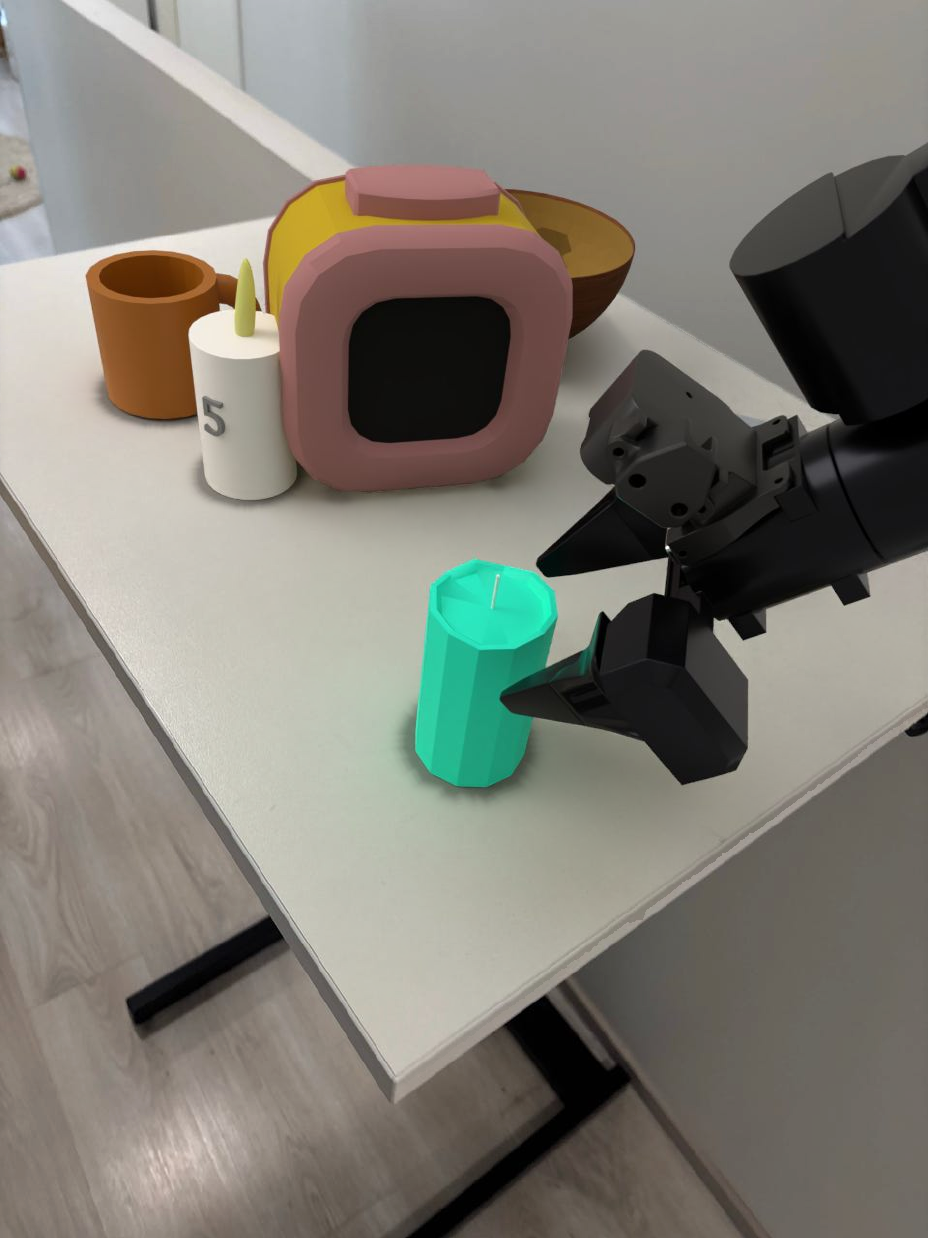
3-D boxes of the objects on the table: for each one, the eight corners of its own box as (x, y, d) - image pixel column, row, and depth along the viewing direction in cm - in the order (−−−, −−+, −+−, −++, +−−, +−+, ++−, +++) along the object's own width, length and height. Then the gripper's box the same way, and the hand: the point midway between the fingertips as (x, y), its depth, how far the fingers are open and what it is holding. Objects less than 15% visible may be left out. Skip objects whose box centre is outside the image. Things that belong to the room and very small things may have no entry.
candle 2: (547, 744, 49) (591, 580, 41) (472, 809, 46) (504, 644, 38) (466, 682, 52) (492, 516, 44) (390, 738, 49) (402, 570, 40)
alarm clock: (288, 509, 61) (277, 216, 48) (268, 419, 69) (253, 143, 55) (546, 487, 66) (601, 214, 53) (501, 405, 74) (540, 147, 60)
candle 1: (183, 479, 62) (153, 264, 52) (243, 436, 67) (227, 230, 56) (258, 513, 61) (243, 298, 50) (314, 467, 65) (312, 259, 55)
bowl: (499, 417, 72) (518, 296, 65) (372, 322, 81) (376, 207, 74) (649, 363, 81) (680, 251, 74) (519, 283, 90) (535, 176, 83)
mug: (272, 417, 69) (267, 304, 63) (104, 423, 66) (80, 305, 60) (264, 357, 75) (258, 249, 69) (109, 360, 72) (89, 247, 66)
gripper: (757, 217, 37) (463, 398, 46) (760, 472, 24) (345, 659, 32) (871, 426, 42) (586, 553, 50) (926, 734, 29) (527, 835, 37)
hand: (524, 631), depth 43 cm, fingers open, 9 cm apart
